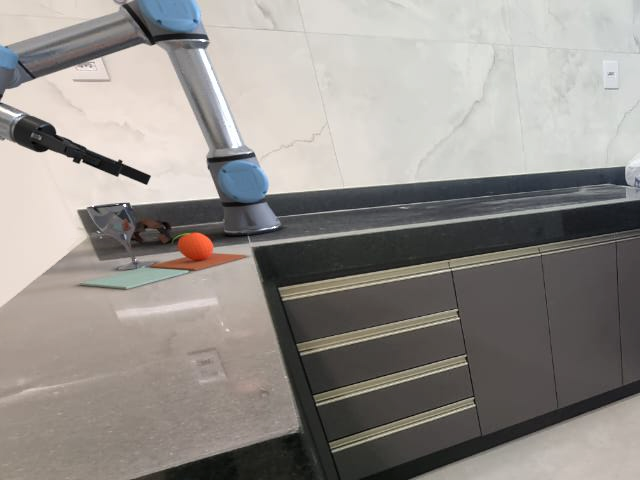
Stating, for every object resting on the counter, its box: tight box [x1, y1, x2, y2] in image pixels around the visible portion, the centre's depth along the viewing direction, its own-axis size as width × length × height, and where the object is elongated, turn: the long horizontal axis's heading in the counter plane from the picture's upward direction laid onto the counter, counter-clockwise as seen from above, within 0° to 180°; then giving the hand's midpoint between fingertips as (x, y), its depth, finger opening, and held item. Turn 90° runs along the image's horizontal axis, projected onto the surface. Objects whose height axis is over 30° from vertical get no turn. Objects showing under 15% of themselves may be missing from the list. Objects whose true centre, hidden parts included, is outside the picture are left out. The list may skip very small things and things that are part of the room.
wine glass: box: [86, 202, 155, 271], centre depth 131 cm, size 8×8×15 cm
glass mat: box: [79, 267, 189, 290], centre depth 122 cm, size 13×16×1 cm
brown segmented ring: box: [130, 217, 174, 244], centre depth 160 cm, size 12×9×8 cm
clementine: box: [171, 231, 214, 260], centre depth 133 cm, size 8×7×7 cm
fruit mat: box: [149, 252, 247, 272], centre depth 135 cm, size 13×16×1 cm
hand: (134, 176), depth 131 cm, fingers open, 13 cm apart
